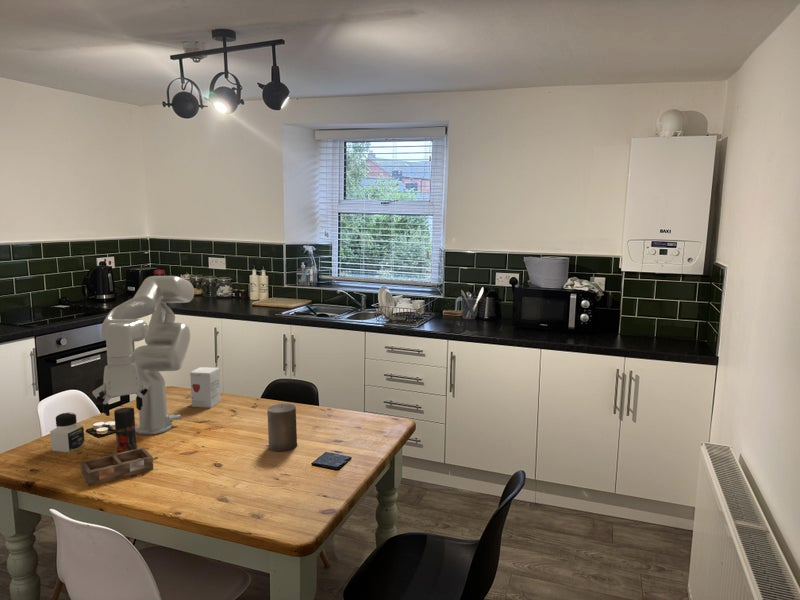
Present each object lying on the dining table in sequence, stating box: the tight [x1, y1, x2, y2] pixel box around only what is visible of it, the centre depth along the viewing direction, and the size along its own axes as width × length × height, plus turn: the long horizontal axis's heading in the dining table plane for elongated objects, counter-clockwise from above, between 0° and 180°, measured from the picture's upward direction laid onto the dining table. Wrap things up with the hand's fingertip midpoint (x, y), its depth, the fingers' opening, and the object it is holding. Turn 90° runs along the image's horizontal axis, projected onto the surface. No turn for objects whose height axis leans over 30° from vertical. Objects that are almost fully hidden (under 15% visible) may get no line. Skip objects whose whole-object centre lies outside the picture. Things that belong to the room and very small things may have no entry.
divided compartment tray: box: [80, 446, 154, 487], centre depth 177 cm, size 18×10×4 cm, turn 130°
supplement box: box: [189, 366, 222, 409], centre depth 242 cm, size 9×9×15 cm
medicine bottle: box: [49, 411, 86, 453], centre depth 195 cm, size 7×7×12 cm
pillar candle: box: [266, 403, 298, 452], centre depth 197 cm, size 10×10×15 cm
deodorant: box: [113, 406, 138, 454], centre depth 190 cm, size 6×6×15 cm
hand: (123, 412), depth 189 cm, fingers open, 9 cm apart
